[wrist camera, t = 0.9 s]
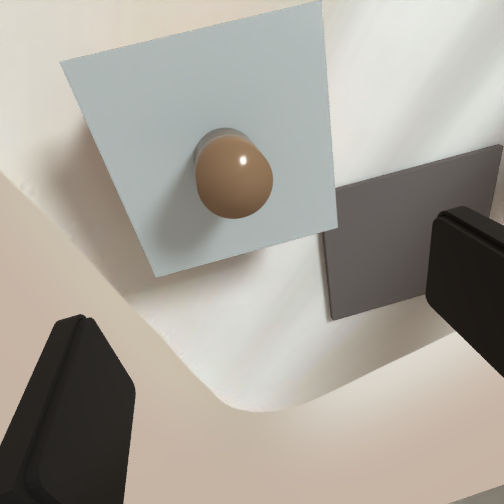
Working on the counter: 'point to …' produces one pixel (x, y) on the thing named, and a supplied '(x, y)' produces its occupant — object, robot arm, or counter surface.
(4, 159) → the counter surface
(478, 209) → the mat
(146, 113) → the lid
